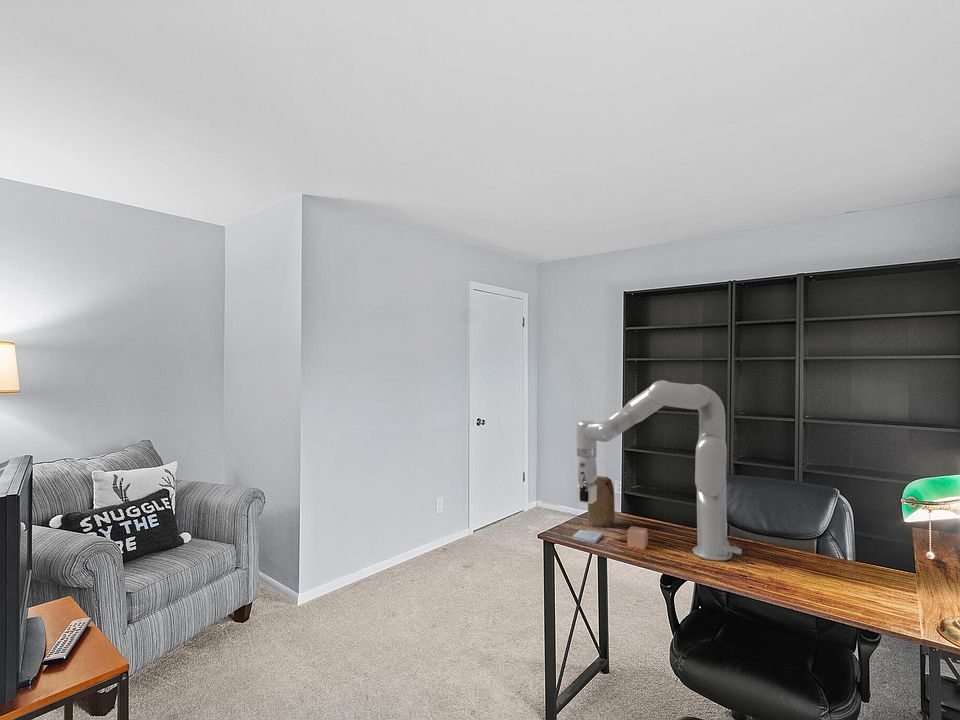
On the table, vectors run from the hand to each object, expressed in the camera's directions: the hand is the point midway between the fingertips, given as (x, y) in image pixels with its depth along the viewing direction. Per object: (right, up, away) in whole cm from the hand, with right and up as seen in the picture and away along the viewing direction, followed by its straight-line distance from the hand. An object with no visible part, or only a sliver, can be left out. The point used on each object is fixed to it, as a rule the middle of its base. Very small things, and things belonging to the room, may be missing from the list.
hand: (586, 498), depth 200 cm
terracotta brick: (+17, -15, -10) cm, 24 cm away
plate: (0, -15, 0) cm, 15 cm away
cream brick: (0, -1, 0) cm, 1 cm away
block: (+10, -15, +16) cm, 24 cm away
